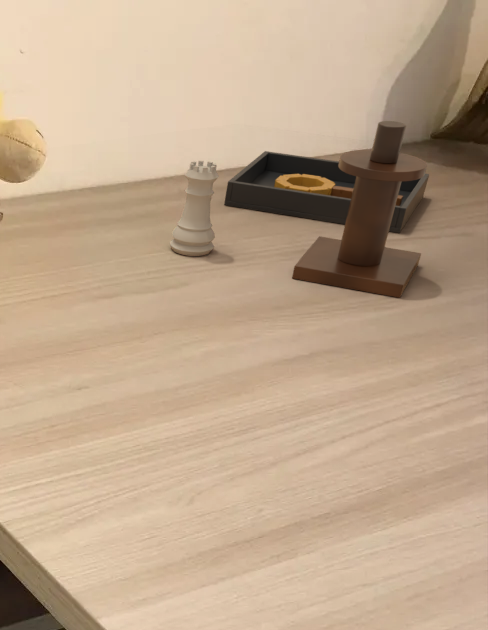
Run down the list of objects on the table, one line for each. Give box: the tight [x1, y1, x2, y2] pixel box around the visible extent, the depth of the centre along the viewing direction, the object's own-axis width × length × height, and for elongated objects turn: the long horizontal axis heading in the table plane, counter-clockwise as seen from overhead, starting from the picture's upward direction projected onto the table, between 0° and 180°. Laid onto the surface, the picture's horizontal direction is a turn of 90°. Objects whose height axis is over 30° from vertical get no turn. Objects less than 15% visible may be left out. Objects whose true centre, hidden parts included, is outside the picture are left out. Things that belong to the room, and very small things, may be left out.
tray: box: [223, 150, 430, 234], centre depth 117 cm, size 19×15×2 cm
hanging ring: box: [274, 174, 403, 206], centre depth 116 cm, size 14×6×1 cm, turn 63°
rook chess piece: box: [169, 160, 220, 257], centre depth 101 cm, size 4×4×8 cm
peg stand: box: [291, 120, 428, 299], centre depth 95 cm, size 10×10×13 cm
